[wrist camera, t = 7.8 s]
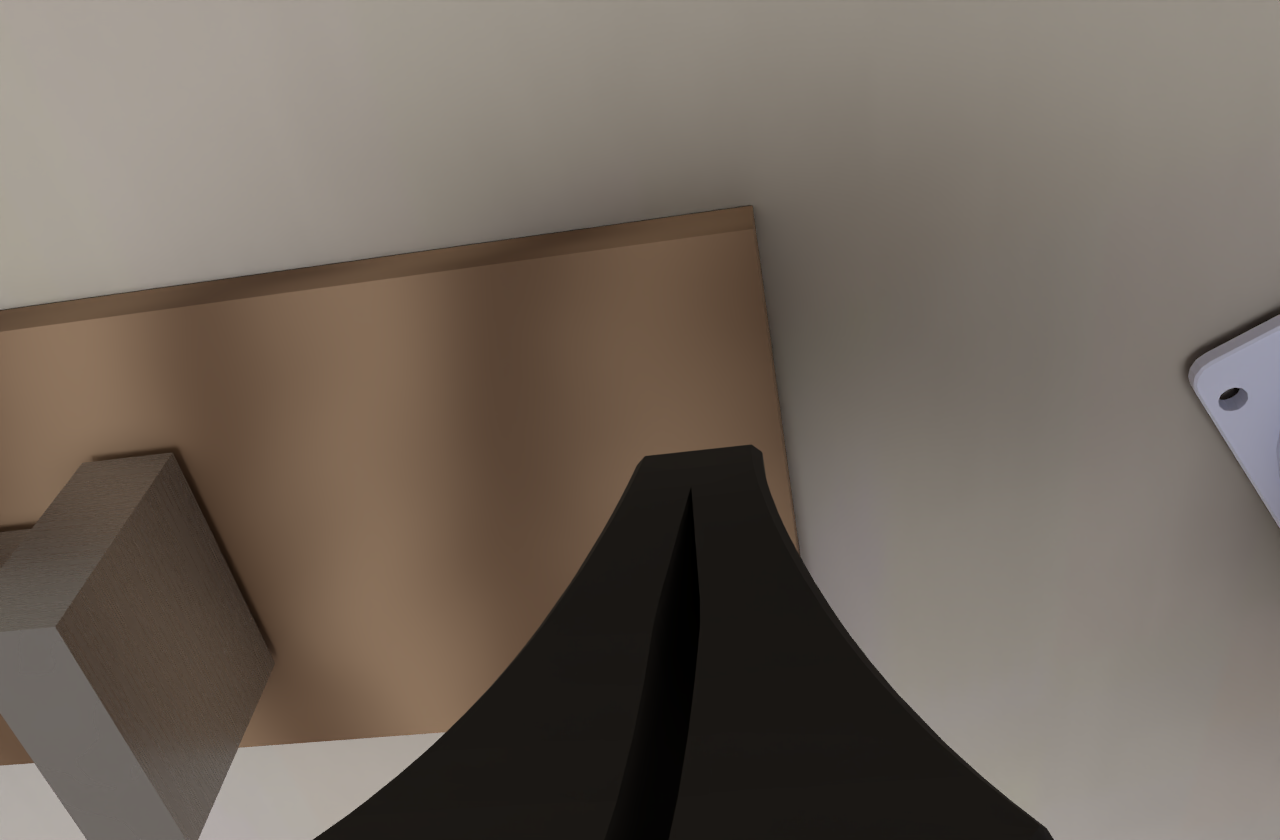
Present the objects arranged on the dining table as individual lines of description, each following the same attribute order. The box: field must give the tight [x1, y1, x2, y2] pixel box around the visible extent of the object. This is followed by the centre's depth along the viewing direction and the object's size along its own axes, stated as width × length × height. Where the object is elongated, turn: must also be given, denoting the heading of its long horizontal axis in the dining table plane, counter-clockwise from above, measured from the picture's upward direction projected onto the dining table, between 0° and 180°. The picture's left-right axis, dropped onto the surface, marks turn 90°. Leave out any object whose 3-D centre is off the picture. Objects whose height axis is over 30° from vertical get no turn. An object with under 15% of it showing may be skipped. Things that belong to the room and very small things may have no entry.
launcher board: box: [0, 206, 800, 765], centre depth 26 cm, size 23×12×1 cm, turn 100°
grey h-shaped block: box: [0, 452, 275, 840], centre depth 24 cm, size 8×6×5 cm
